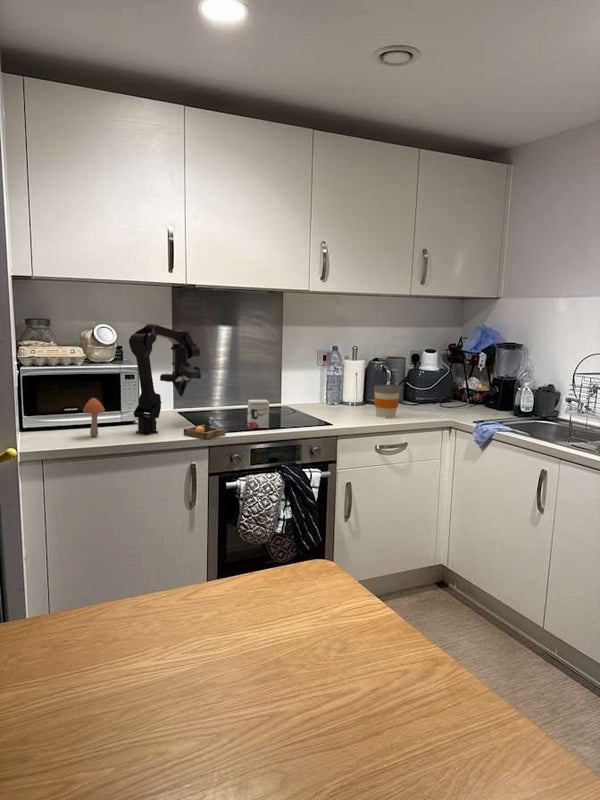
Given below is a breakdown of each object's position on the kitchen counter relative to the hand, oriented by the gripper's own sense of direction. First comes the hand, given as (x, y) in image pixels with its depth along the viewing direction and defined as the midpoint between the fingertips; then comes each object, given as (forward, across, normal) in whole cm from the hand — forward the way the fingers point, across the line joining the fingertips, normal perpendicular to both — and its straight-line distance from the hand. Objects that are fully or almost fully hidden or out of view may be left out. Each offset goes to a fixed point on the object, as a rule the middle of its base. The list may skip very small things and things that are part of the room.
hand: (181, 396), depth 246 cm
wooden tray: (+12, -10, -24) cm, 28 cm away
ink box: (+12, +16, -30) cm, 36 cm away
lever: (+12, +2, -18) cm, 22 cm away
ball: (+10, -11, -22) cm, 27 cm away
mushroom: (+12, -39, +6) cm, 41 cm away
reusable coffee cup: (+12, +78, -59) cm, 99 cm away
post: (+12, +4, -16) cm, 20 cm away
